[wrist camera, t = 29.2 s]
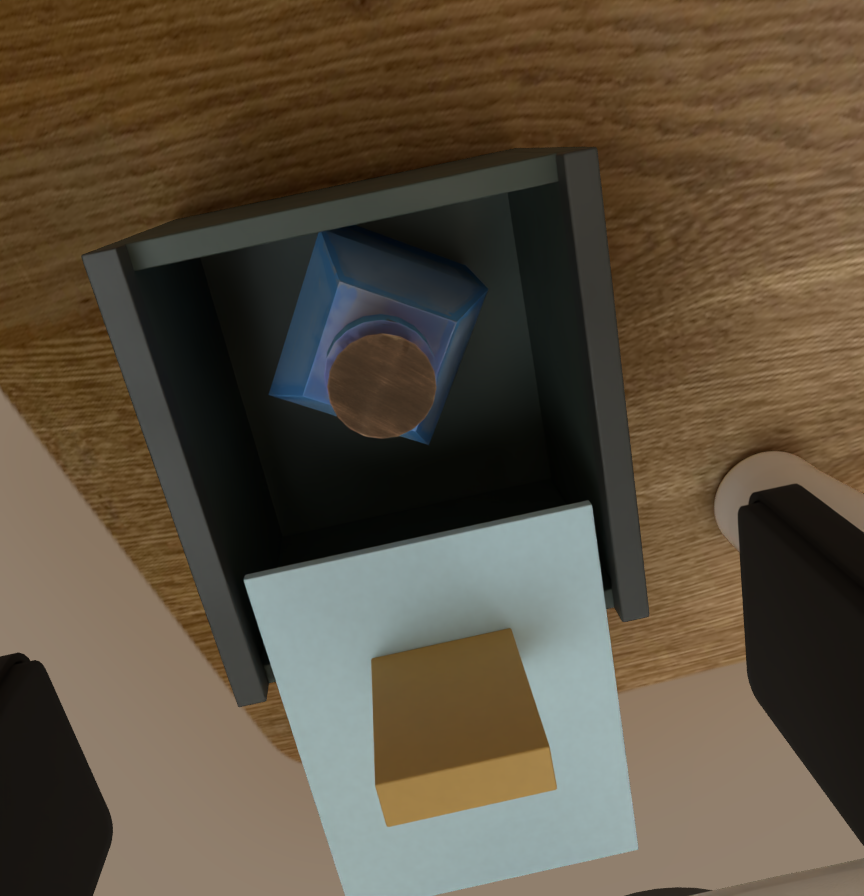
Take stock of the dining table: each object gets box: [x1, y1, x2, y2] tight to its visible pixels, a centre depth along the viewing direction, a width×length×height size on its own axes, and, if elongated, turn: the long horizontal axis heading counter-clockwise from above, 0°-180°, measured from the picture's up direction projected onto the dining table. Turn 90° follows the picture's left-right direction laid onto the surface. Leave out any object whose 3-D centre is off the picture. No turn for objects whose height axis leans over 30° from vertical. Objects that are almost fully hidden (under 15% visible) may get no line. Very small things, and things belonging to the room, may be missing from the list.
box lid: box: [244, 500, 638, 896], centre depth 27 cm, size 16×12×6 cm
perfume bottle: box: [269, 225, 488, 445], centre depth 29 cm, size 6×6×12 cm
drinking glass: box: [714, 451, 864, 553], centre depth 33 cm, size 7×7×15 cm
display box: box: [81, 147, 649, 707], centre depth 30 cm, size 16×15×12 cm
